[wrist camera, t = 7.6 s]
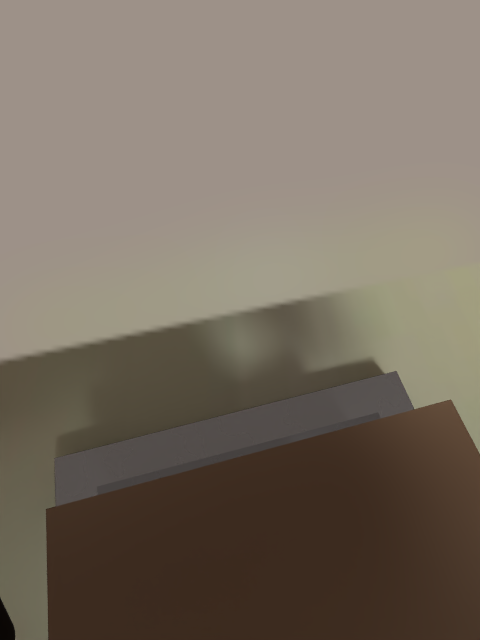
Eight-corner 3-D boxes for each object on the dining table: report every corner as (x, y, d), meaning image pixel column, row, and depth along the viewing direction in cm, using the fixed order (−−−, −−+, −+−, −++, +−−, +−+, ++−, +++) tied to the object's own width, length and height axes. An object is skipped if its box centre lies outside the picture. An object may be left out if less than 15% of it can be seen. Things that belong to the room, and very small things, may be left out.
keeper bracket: (559, 752, 12) (683, 836, 9) (82, 921, 11) (-2, 1099, 7) (389, 379, 18) (421, 338, 14) (65, 462, 17) (14, 440, 13)
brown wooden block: (354, 642, 13) (822, 1106, 2) (228, 682, 12) (64, 1466, 2) (311, 505, 15) (450, 400, 4) (201, 536, 14) (46, 508, 4)
